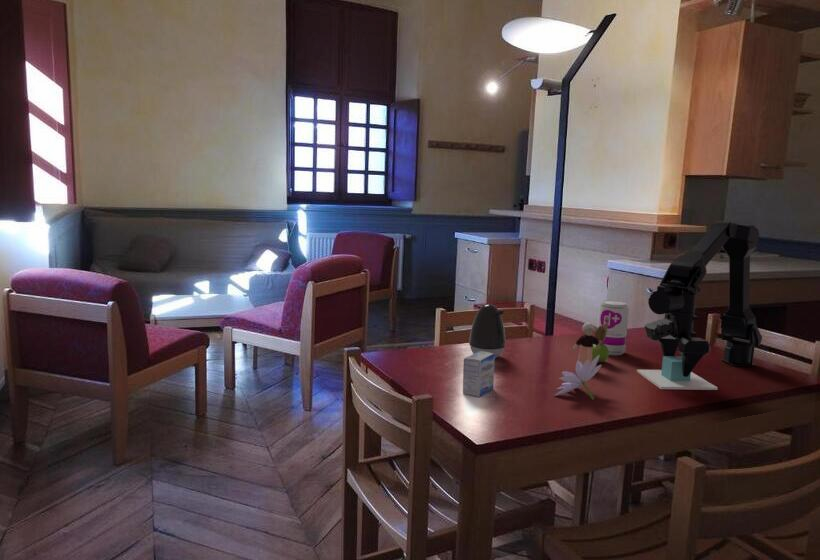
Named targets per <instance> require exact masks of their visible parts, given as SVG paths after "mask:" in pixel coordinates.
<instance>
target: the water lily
mask: <svg viewBox="0 0 820 560" xmlns="http://www.w3.org/2000/svg"><path fill="white" fill-rule="evenodd" d="M599 356H600V355H598V356H597V357H596V358H595V359H594V360H592V363H591V365H590V361H589V360H587V361H586V362H585V363H584V365H582V364H581V362H580V361H579V360H578V359H577V361H576V363H575V372H571V371H564V370H563V371H562V372H561V374H562V376H561V377H559V380H562V381H564V382H562V383H561V386H559V387H557V388H556V390H560V391H558V392H556V393H555V394H554V395H553V397H557V396H561V395H563V394H566V393H568V392H571V391H573V390H574V389H579V388H581V387H584V388H585V390H586V392H587V393H588V395H589V397H590V399H591V400H595V397H594V396H593V393H592V391H591V390H590V389H589V388H588V385H587V384H586V382H588V381H590V380H591V379H592V378H593V377H595V375H596V374H597V373H598V372H599V370H600V369H601V367H602V364H599V365H598V366H597V364H598V363H599V362H598V359H599Z"/></svg>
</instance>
